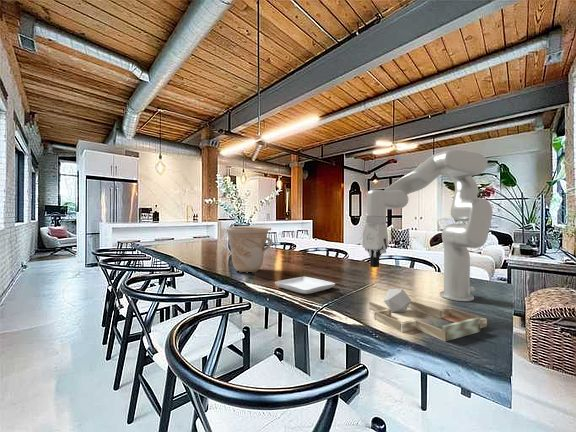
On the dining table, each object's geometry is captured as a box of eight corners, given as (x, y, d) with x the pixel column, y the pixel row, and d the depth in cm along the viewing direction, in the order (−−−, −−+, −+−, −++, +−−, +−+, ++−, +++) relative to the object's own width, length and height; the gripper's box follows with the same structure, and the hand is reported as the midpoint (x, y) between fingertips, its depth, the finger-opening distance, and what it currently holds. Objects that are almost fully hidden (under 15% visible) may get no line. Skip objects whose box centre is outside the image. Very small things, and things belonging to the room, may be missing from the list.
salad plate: (304, 281, 150) (304, 275, 150) (336, 289, 135) (336, 282, 135) (273, 288, 136) (273, 281, 136) (305, 298, 120) (305, 290, 120)
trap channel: (410, 301, 116) (410, 291, 116) (491, 328, 88) (492, 315, 88) (355, 311, 103) (356, 299, 103) (430, 345, 76) (430, 330, 76)
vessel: (285, 268, 177) (280, 220, 174) (245, 281, 158) (239, 228, 156) (258, 262, 199) (253, 220, 196) (221, 273, 180) (215, 227, 178)
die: (407, 318, 98) (418, 294, 101) (384, 304, 100) (395, 281, 103) (398, 319, 106) (408, 296, 109) (377, 306, 107) (388, 284, 110)
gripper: (356, 220, 119) (355, 264, 119) (382, 221, 106) (381, 270, 106) (370, 220, 122) (368, 263, 122) (397, 221, 109) (396, 269, 109)
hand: (374, 266), depth 114 cm, fingers closed
